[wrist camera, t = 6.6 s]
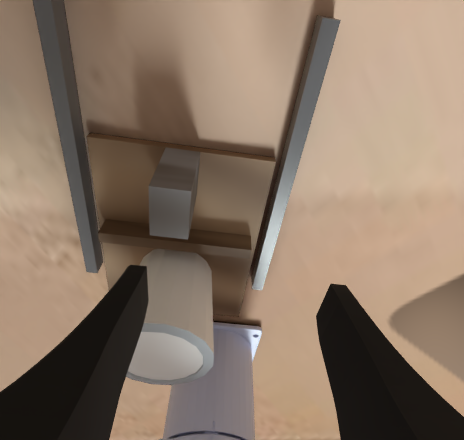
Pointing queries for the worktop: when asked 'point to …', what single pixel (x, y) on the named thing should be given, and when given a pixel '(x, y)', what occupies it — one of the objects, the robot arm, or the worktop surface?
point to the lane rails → (73, 143)
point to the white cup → (175, 320)
